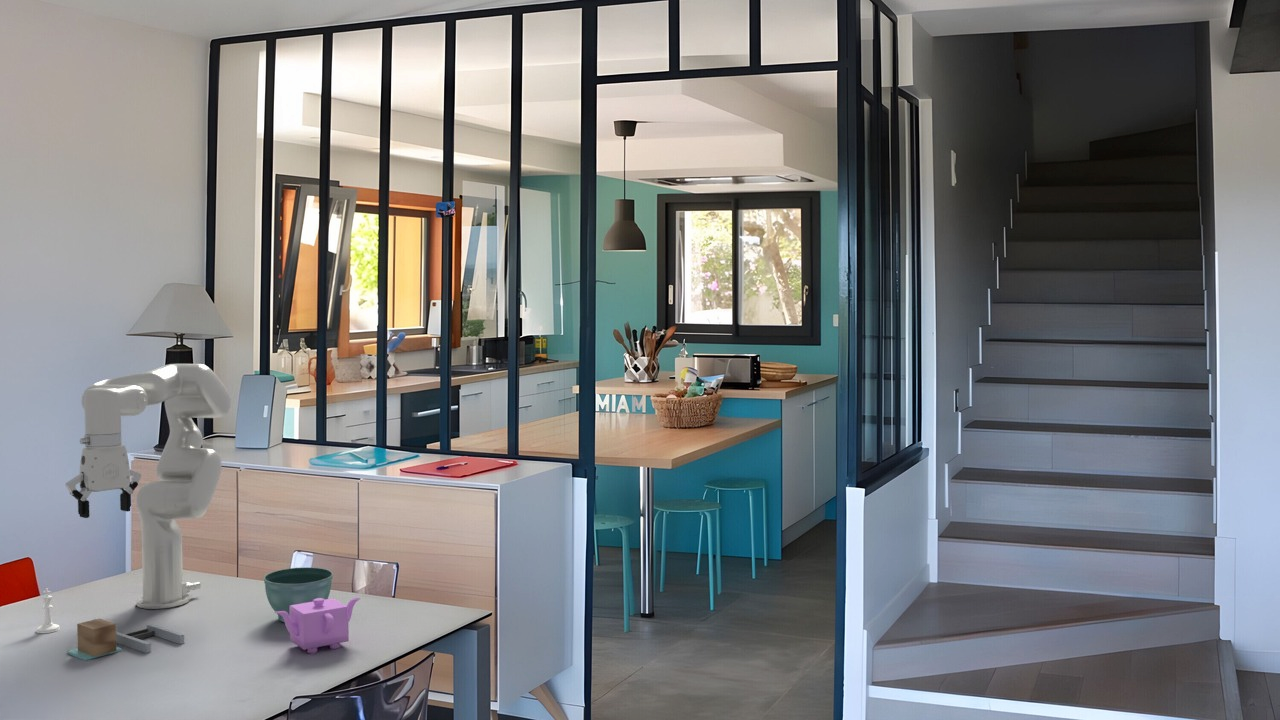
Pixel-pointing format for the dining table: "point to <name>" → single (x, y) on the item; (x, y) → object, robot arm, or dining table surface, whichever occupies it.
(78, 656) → the pad
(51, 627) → the chess piece
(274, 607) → the green bowl
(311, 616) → the teapot
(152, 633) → the grey twin-rail rack
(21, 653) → the dining table surface
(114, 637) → the walnut block
